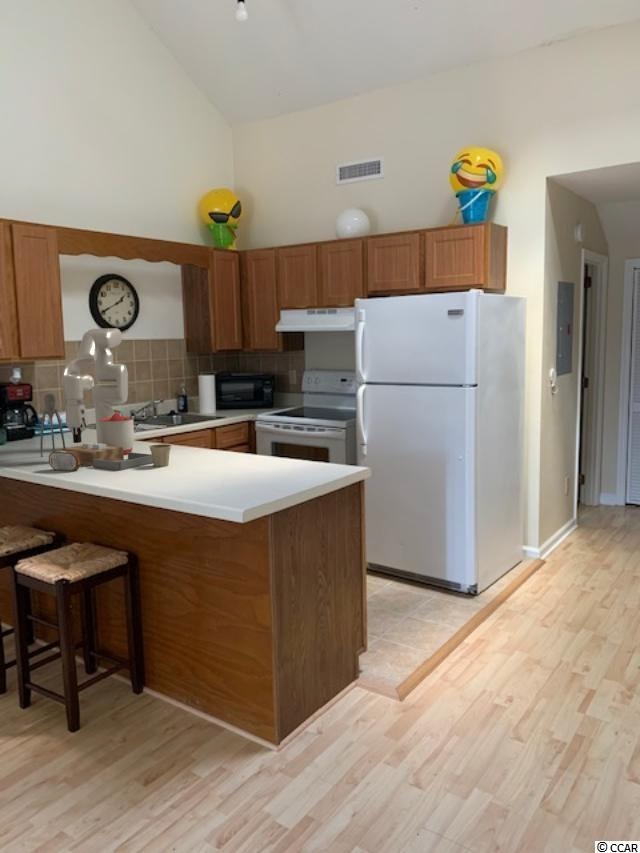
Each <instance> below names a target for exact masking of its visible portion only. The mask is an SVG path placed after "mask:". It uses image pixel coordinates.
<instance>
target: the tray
mask: <svg viewBox="0 0 640 853" xmlns="http://www.w3.org/2000/svg"><path fill="white" fill-rule="evenodd" d="M151 464H153V459H152V454H149V453H143V452H128V454H127V458H126V459H125V458H124V460H120V461H108V460H100V459H93V466H92V467H93V468H97V469H104V470H106V469H107V470H113V471H124V470H129V469H135V468H138V467H141V466H142V467H144V466H147V465H151Z"/></svg>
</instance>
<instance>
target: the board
mask: <svg viewBox="0 0 640 853" xmlns="http://www.w3.org/2000/svg"><path fill="white" fill-rule="evenodd" d="M61 450H64V451H75V452H76V453H78V454H79V456H80V458H81V466H82V465H83V466H92V467H93V459H100V460H108V461H120V460H125V458H124V454H123V447H118V446H108V445H106V449H100V450H97V449H93V448H89V449H88V448H83V444H82V445H76V446H72V447H71V446H70V447H65V448H61Z"/></svg>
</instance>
